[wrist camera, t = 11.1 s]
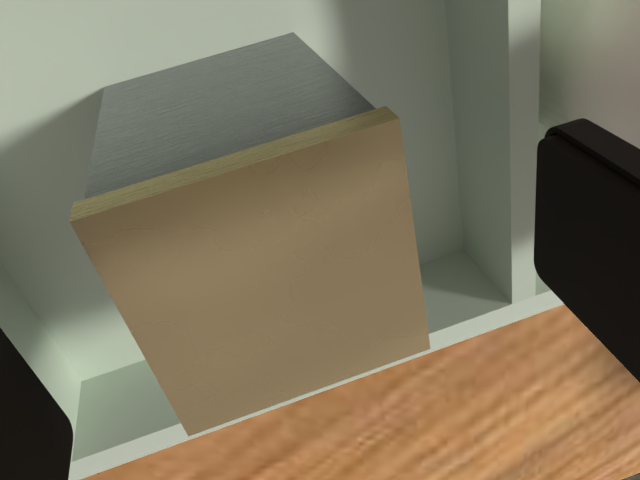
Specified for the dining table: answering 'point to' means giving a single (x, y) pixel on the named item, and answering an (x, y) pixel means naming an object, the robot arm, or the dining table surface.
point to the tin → (253, 229)
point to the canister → (591, 64)
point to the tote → (351, 64)
